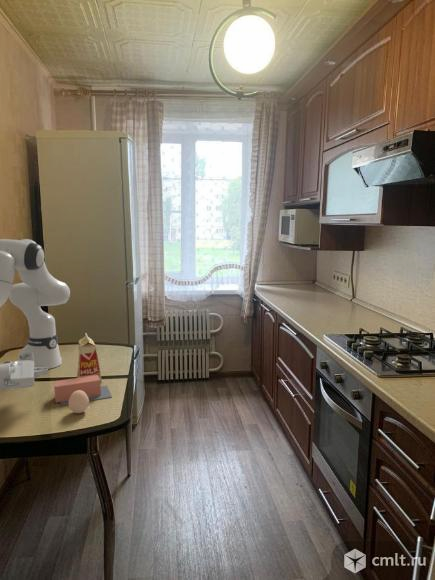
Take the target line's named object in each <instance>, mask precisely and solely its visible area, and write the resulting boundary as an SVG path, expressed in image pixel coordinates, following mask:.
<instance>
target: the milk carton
mask: <svg viewBox="0 0 435 580" xmlns="http://www.w3.org/2000/svg"><path fill="white" fill-rule="evenodd" d="M84 334H85V336H83V337H82V338H80V339H79V340H78V368H77V374H76V375H77V376H76V378H80V377H87V376H94V375H98V376H99V378H100V383H102V382H103V381H102V374H101V365H100V360H99V355H98V351H97V347H96V344H95V342H94V340H93V339H92V338H90V336H88V333H87V332H85V333H84Z"/></svg>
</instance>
